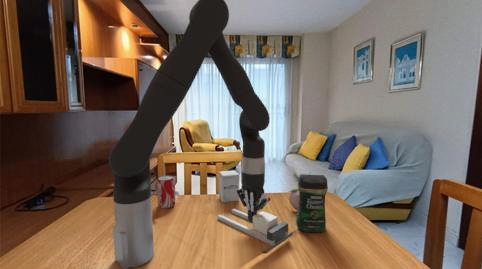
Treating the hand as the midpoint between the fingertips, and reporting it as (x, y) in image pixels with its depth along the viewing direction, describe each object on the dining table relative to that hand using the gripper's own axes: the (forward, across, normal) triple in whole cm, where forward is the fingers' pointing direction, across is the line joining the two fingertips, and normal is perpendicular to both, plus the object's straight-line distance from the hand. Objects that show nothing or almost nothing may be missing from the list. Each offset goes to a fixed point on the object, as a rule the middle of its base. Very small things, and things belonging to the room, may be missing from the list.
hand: (252, 220), depth 84 cm
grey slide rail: (+4, -1, 0) cm, 4 cm away
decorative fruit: (+4, +4, +24) cm, 25 cm away
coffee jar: (+4, +13, +15) cm, 20 cm away
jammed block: (+2, +5, 0) cm, 6 cm away
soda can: (+4, -39, -9) cm, 40 cm away
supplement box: (+4, -24, +12) cm, 27 cm away
